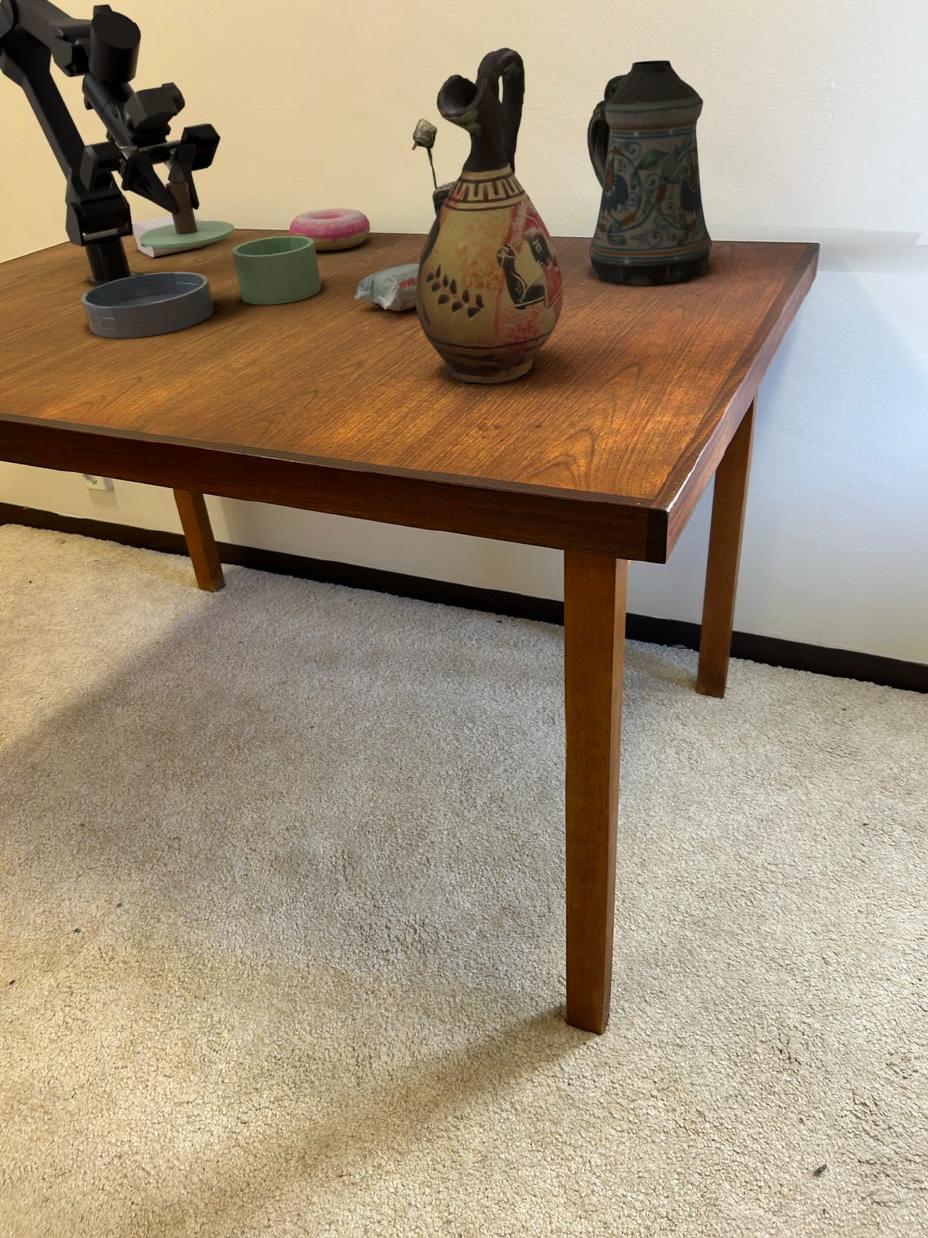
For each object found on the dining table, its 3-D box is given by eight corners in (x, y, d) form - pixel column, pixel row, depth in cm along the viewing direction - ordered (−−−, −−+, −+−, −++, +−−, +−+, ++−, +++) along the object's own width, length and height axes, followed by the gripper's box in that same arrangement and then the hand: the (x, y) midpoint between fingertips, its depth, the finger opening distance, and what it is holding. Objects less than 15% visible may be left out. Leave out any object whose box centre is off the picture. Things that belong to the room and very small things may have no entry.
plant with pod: (464, 278, 135) (452, 122, 123) (409, 268, 141) (393, 119, 130) (501, 264, 139) (493, 112, 128) (446, 256, 146) (434, 110, 135)
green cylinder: (228, 294, 137) (218, 248, 133) (296, 277, 142) (288, 232, 139) (264, 309, 129) (255, 260, 126) (335, 290, 135) (328, 242, 131)
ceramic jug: (521, 404, 94) (505, 58, 77) (396, 384, 102) (357, 64, 85) (594, 349, 106) (595, 37, 89) (477, 335, 113) (457, 44, 96)
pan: (73, 321, 132) (64, 292, 130) (184, 293, 140) (177, 265, 137) (116, 346, 120) (107, 315, 118) (234, 314, 128) (228, 284, 126)
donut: (367, 252, 152) (363, 219, 149) (285, 258, 153) (280, 225, 150) (375, 232, 163) (371, 202, 160) (299, 238, 164) (294, 208, 161)
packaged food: (462, 301, 125) (459, 263, 122) (387, 323, 120) (382, 283, 117) (426, 290, 131) (422, 253, 128) (353, 310, 126) (347, 272, 123)
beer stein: (686, 290, 122) (699, 67, 108) (550, 280, 130) (545, 73, 116) (725, 257, 133) (741, 52, 119) (598, 250, 142) (599, 58, 128)
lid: (133, 239, 128) (119, 183, 124) (222, 224, 133) (211, 169, 129) (151, 258, 119) (136, 198, 115) (246, 241, 123) (235, 182, 119)
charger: (237, 241, 166) (154, 258, 160) (217, 233, 173) (138, 250, 166) (231, 212, 163) (147, 229, 157) (212, 205, 170) (130, 221, 164)
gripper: (62, 70, 111) (135, 179, 111) (196, 52, 122) (263, 152, 121) (52, 140, 120) (119, 241, 120) (177, 118, 131) (239, 211, 131)
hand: (187, 209), depth 123 cm, fingers closed on lid, 3 cm apart
